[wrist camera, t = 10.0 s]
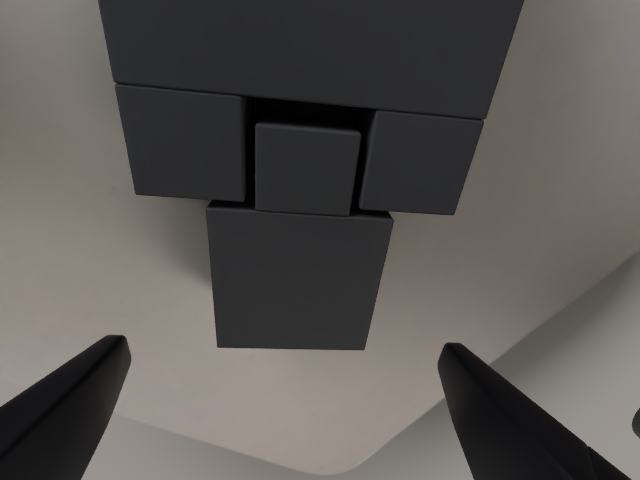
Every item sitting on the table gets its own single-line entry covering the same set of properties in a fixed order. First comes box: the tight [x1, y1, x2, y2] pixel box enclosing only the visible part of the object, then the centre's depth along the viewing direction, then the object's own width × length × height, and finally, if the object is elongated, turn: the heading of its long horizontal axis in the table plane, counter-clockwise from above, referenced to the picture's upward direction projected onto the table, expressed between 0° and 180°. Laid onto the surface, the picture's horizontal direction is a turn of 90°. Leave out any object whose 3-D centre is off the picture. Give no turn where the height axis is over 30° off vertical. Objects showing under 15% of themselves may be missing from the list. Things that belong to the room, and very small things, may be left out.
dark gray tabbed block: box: [206, 112, 394, 350], centre depth 12 cm, size 6×9×3 cm
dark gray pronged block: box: [98, 0, 524, 215], centre depth 9 cm, size 10×10×3 cm
